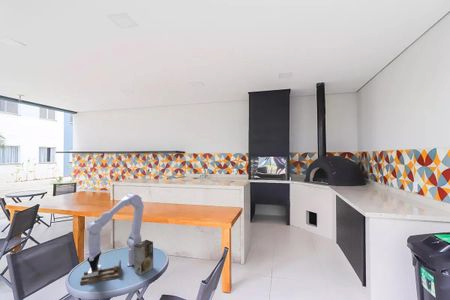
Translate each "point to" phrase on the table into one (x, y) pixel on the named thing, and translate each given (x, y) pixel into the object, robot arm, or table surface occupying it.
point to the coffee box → (143, 257)
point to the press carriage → (94, 271)
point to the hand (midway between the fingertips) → (94, 267)
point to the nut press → (103, 274)
